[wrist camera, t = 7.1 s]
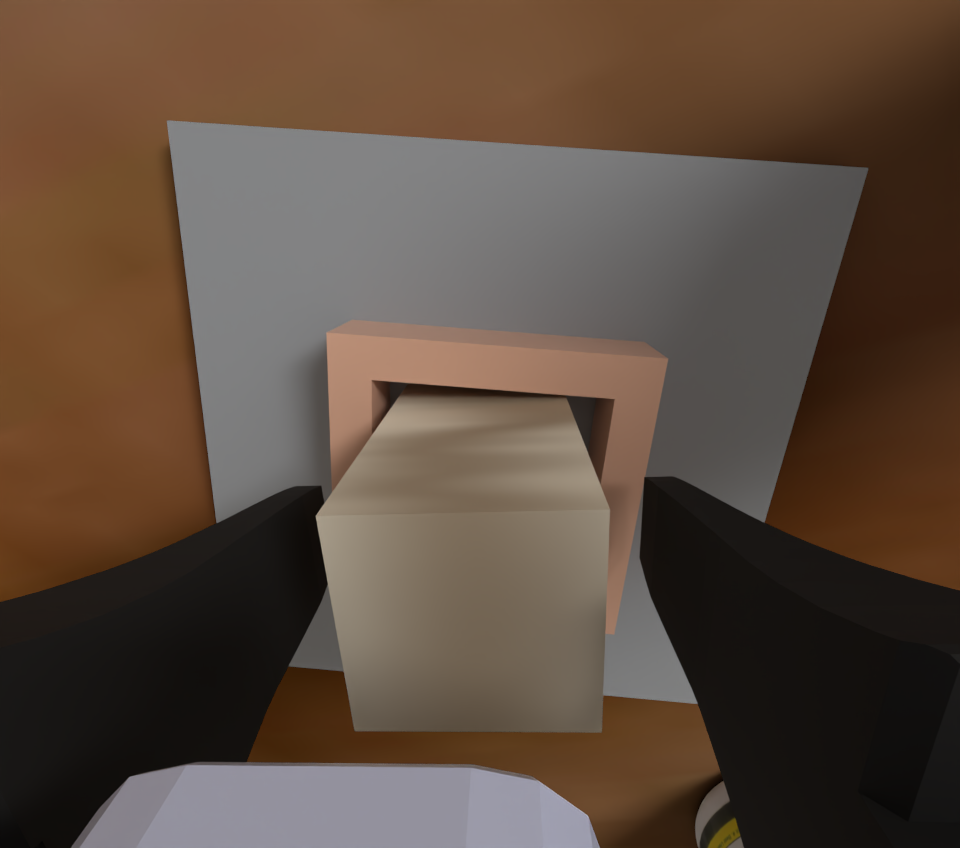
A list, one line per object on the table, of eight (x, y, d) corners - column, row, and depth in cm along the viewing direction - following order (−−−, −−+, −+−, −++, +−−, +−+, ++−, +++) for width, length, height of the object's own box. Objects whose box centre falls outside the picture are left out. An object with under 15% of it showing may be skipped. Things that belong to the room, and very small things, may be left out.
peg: (558, 377, 13) (610, 509, 7) (558, 512, 15) (601, 732, 8) (408, 383, 14) (316, 516, 7) (421, 515, 15) (354, 731, 8)
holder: (846, 172, 12) (940, 152, 9) (701, 685, 18) (736, 763, 15) (187, 128, 12) (102, 97, 10) (245, 643, 18) (199, 712, 15)
